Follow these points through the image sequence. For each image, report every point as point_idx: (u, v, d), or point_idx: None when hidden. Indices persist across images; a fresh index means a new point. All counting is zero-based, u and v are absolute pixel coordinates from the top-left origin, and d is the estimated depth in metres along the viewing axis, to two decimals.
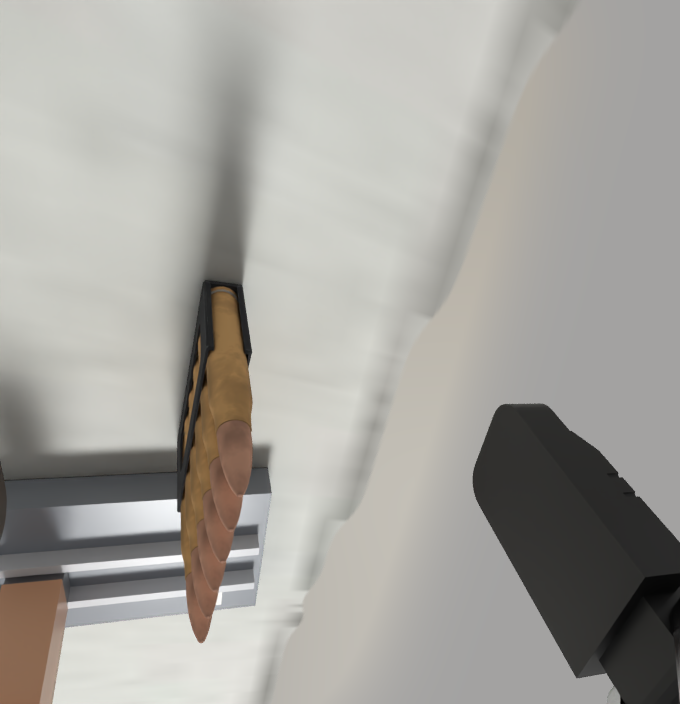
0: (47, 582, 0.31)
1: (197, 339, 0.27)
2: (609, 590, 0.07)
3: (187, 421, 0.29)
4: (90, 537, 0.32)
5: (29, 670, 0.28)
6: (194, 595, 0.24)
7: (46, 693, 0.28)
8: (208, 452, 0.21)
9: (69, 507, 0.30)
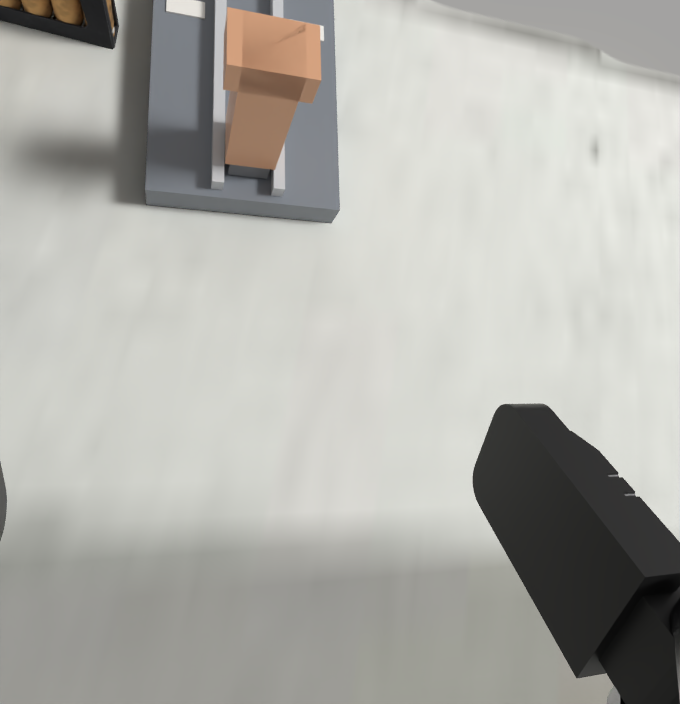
0: (225, 128, 0.34)
1: None
2: (609, 590, 0.07)
3: (58, 15, 0.35)
4: (196, 107, 0.35)
5: None
6: None
7: None
8: None
9: (151, 113, 0.34)
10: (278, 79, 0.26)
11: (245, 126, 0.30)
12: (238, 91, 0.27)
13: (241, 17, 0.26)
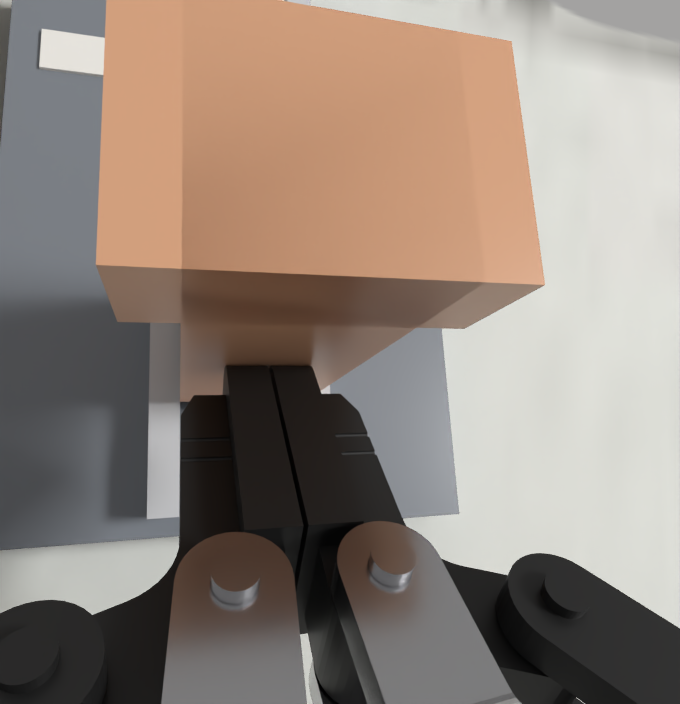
0: None
1: None
2: None
3: None
4: None
5: None
6: None
7: None
8: None
9: None
10: (358, 290, 0.06)
11: None
12: (185, 322, 0.07)
13: (176, 18, 0.06)
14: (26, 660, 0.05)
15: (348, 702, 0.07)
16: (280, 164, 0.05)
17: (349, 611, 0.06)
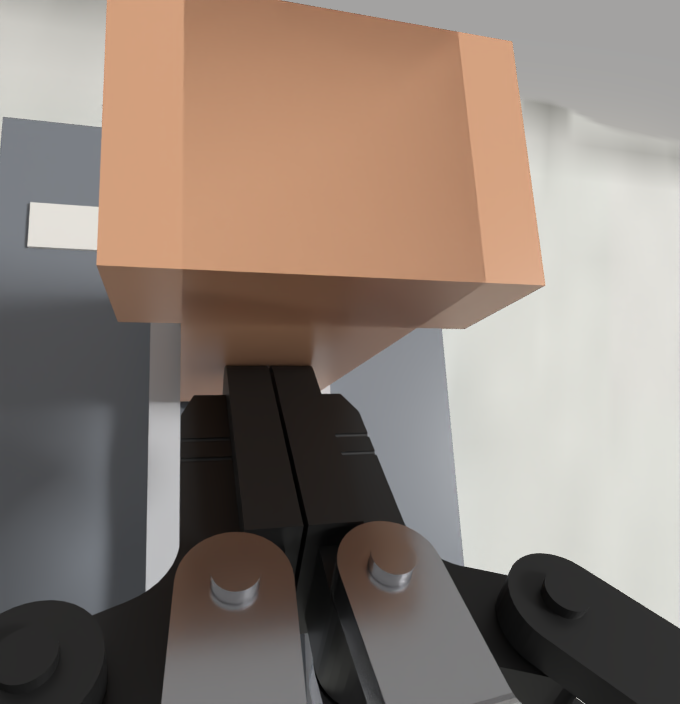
0: None
1: None
2: None
3: None
4: (105, 508, 0.13)
5: None
6: None
7: None
8: None
9: None
10: (359, 290, 0.06)
11: None
12: (184, 322, 0.07)
13: (176, 18, 0.06)
14: (26, 660, 0.05)
15: (348, 702, 0.07)
16: (280, 164, 0.05)
17: (349, 611, 0.06)
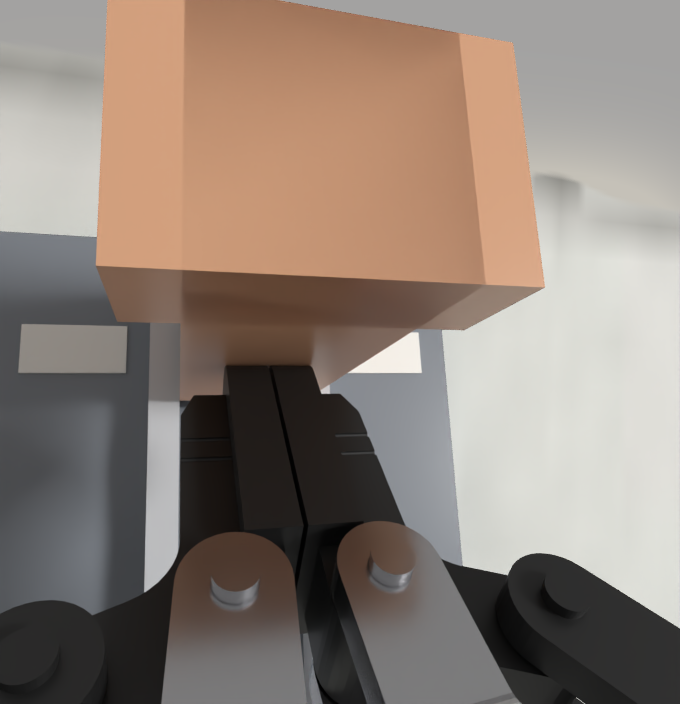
0: None
1: None
2: None
3: None
4: None
5: None
6: None
7: None
8: None
9: None
10: (358, 291, 0.06)
11: None
12: (184, 322, 0.07)
13: (177, 18, 0.06)
14: (27, 661, 0.05)
15: (348, 702, 0.07)
16: (281, 165, 0.05)
17: (349, 611, 0.06)
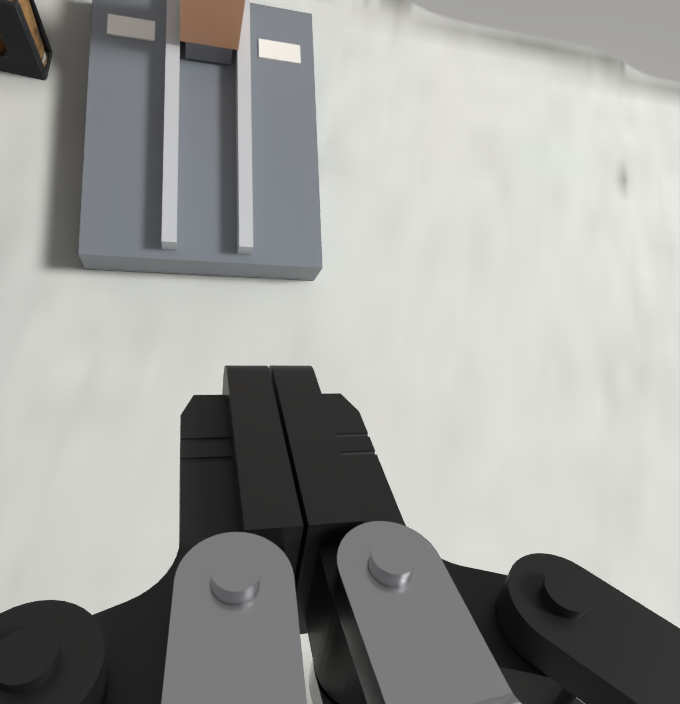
0: None
1: None
2: None
3: None
4: (144, 148, 0.29)
5: None
6: None
7: None
8: None
9: (86, 158, 0.28)
10: None
11: None
12: None
13: None
14: (26, 661, 0.05)
15: (348, 702, 0.07)
16: None
17: (349, 611, 0.06)
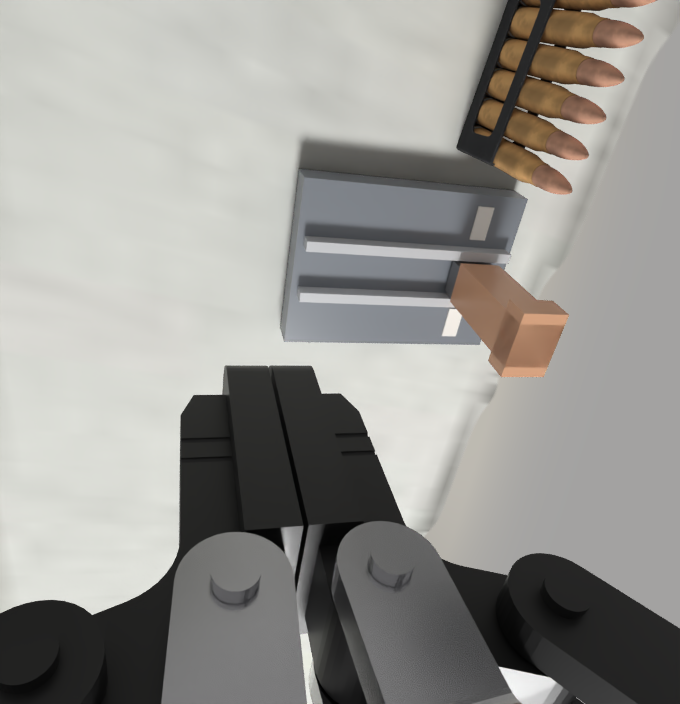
0: (490, 265, 0.40)
1: (512, 17, 0.34)
2: None
3: (485, 105, 0.36)
4: (385, 227, 0.38)
5: (523, 296, 0.36)
6: (551, 171, 0.30)
7: None
8: (587, 26, 0.28)
9: (380, 187, 0.37)
10: (507, 346, 0.34)
11: (482, 298, 0.37)
12: (506, 310, 0.34)
13: (559, 324, 0.33)
14: (26, 661, 0.05)
15: (348, 702, 0.07)
16: (531, 338, 0.33)
17: (349, 611, 0.06)
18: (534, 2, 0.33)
